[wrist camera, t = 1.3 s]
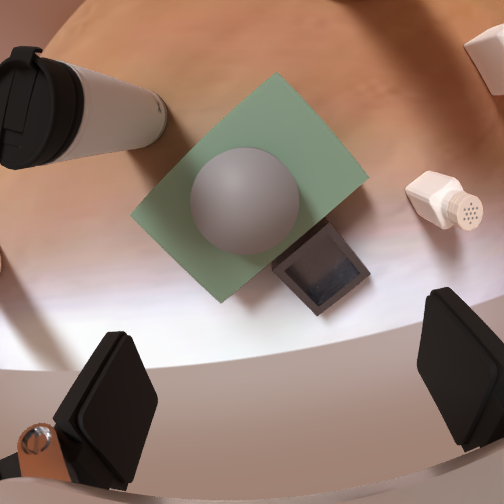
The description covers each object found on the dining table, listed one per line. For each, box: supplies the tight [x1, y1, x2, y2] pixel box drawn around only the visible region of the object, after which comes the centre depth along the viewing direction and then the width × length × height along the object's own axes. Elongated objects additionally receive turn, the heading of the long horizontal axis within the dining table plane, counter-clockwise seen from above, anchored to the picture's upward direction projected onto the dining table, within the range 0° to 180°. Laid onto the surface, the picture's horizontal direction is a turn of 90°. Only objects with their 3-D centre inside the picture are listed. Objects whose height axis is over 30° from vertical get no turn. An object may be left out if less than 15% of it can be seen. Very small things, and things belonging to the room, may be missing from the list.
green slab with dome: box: [130, 72, 369, 303], centre depth 28 cm, size 18×12×9 cm, turn 133°
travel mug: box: [0, 46, 168, 170], centre depth 20 cm, size 6×7×20 cm
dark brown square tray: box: [272, 217, 371, 316], centre depth 33 cm, size 7×7×3 cm
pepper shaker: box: [405, 171, 483, 231], centre depth 27 cm, size 4×4×10 cm
